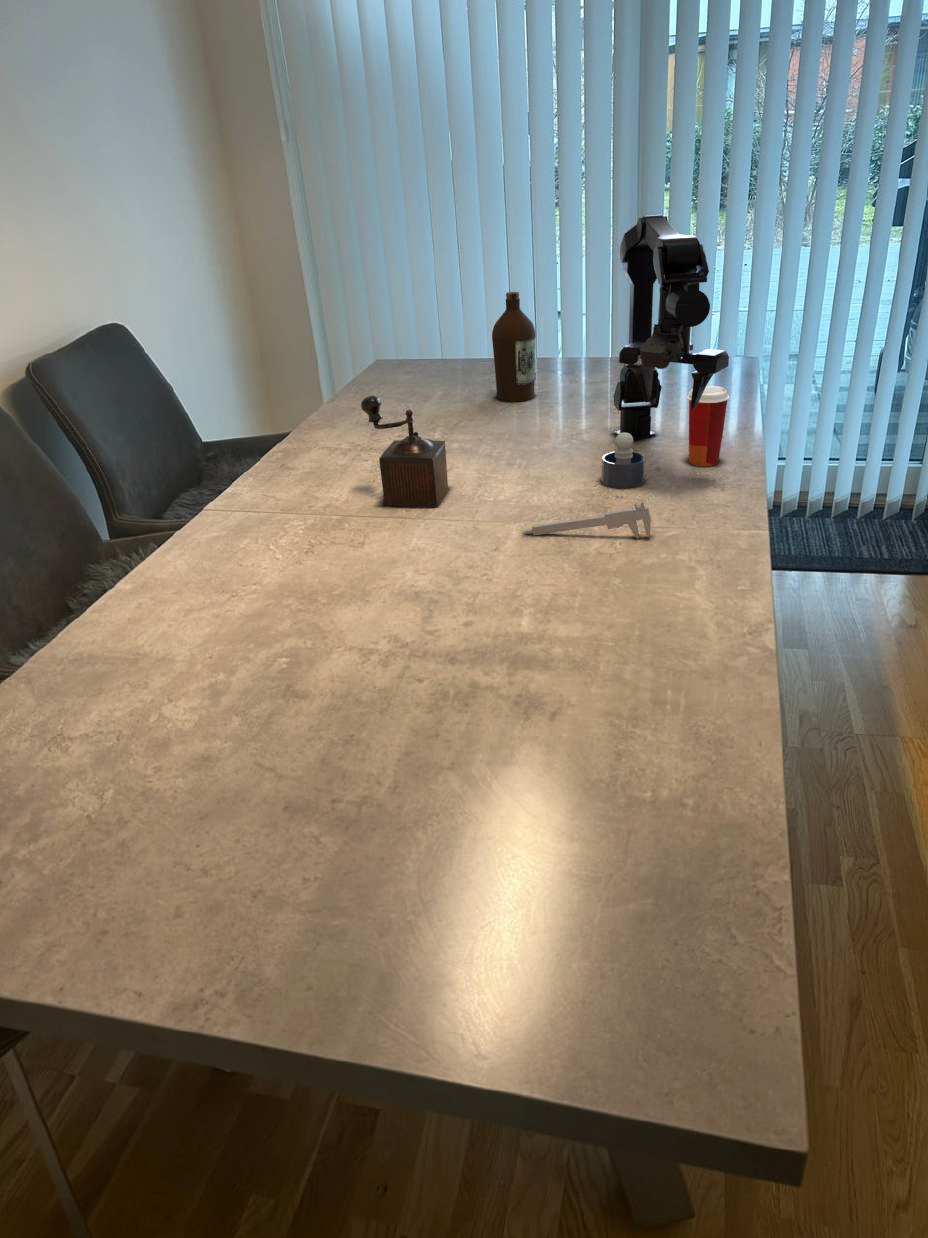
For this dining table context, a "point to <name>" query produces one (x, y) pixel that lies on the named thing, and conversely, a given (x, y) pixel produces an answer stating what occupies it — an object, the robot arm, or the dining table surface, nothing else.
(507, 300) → the olive oil
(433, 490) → the manual coffee grinder
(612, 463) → the ceramic cup
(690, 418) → the paper cup
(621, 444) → the chess piece
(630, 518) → the caliper
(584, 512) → the dining table surface
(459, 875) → the dining table surface
